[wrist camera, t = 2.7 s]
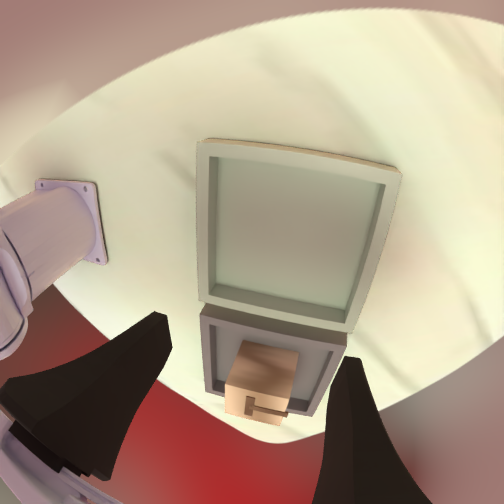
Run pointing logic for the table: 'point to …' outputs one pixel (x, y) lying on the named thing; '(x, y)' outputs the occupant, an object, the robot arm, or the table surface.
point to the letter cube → (260, 382)
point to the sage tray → (290, 230)
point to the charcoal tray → (276, 335)
